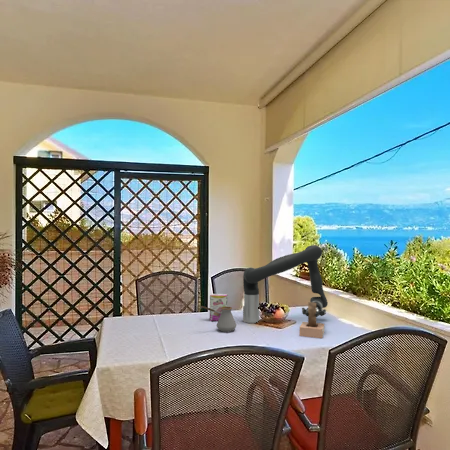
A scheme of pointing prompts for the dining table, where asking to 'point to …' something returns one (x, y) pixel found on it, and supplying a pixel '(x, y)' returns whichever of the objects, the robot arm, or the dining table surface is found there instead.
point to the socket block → (311, 330)
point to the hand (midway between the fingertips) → (311, 314)
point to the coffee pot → (224, 319)
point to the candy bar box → (217, 305)
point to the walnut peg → (311, 314)
